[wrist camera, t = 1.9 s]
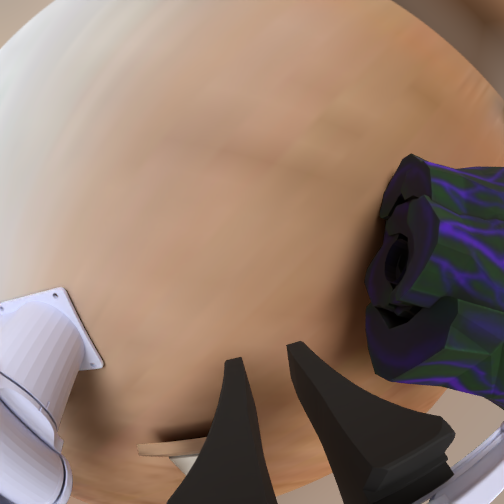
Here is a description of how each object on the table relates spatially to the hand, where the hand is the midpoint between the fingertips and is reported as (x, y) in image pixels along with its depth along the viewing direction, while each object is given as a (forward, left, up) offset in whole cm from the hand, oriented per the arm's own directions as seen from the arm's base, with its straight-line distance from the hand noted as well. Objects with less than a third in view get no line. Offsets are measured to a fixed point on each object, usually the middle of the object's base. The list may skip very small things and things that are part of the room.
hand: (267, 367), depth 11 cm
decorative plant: (+21, -4, -10) cm, 24 cm away
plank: (-8, -17, -8) cm, 20 cm away
